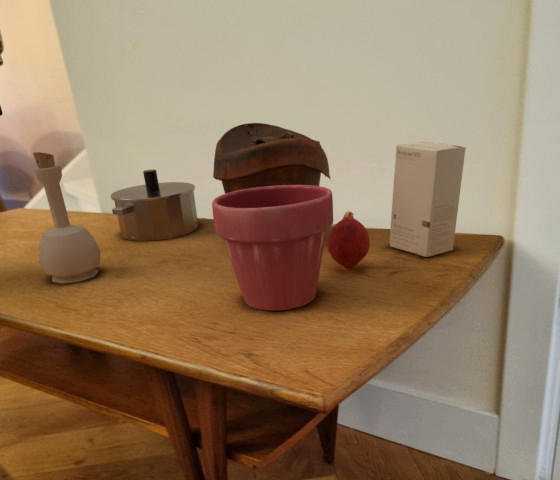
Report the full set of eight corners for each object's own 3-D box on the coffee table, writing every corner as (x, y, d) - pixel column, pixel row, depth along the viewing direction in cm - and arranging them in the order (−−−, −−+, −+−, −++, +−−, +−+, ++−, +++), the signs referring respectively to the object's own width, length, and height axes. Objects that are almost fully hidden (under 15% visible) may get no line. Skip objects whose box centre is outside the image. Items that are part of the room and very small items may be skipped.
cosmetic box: (388, 247, 86) (391, 145, 79) (416, 239, 88) (421, 139, 81) (429, 259, 79) (435, 148, 72) (457, 250, 82) (467, 142, 75)
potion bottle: (32, 283, 83) (-6, 156, 74) (72, 265, 90) (41, 147, 81) (79, 287, 80) (44, 155, 71) (116, 267, 87) (89, 145, 78)
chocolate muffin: (304, 259, 83) (297, 131, 75) (199, 249, 93) (182, 133, 84) (351, 229, 97) (350, 117, 88) (255, 223, 106) (245, 121, 97)
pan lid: (93, 203, 101) (87, 177, 99) (150, 187, 113) (145, 163, 111) (159, 207, 94) (154, 179, 92) (211, 188, 106) (208, 163, 104)
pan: (95, 241, 102) (85, 203, 99) (164, 216, 117) (158, 181, 114) (155, 247, 96) (147, 206, 92) (220, 219, 111) (216, 183, 107)
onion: (368, 275, 75) (369, 216, 71) (326, 276, 76) (324, 217, 72) (370, 262, 80) (370, 206, 76) (330, 262, 81) (329, 207, 77)
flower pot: (262, 274, 79) (254, 181, 73) (353, 285, 72) (352, 184, 66) (202, 310, 68) (186, 205, 62) (301, 327, 62) (294, 211, 56)
